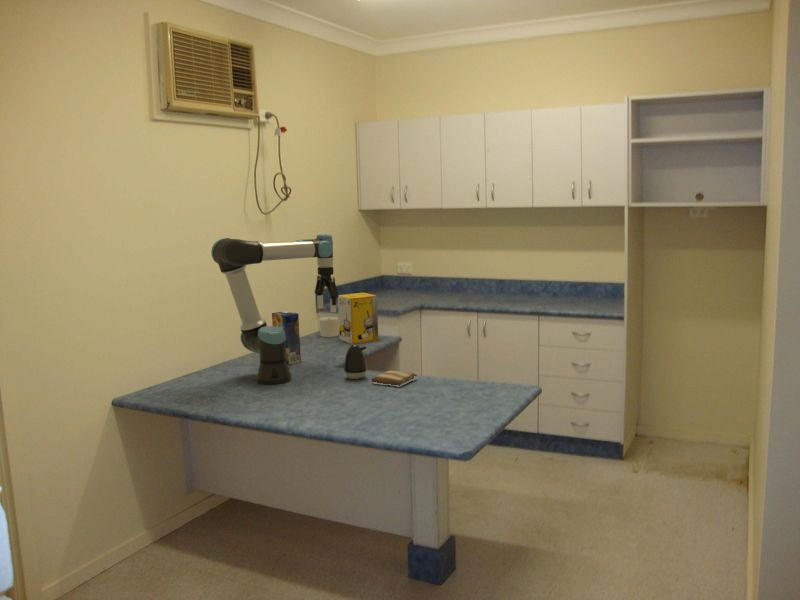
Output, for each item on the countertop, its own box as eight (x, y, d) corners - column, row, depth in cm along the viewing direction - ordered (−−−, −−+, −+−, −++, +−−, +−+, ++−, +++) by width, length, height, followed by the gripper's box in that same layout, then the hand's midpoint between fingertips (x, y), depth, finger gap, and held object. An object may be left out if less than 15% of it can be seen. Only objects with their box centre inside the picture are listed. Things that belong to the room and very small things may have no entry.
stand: (399, 387, 305) (399, 380, 305) (372, 383, 313) (371, 377, 312) (416, 379, 317) (416, 373, 317) (389, 376, 324) (389, 369, 324)
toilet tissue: (333, 333, 429) (333, 316, 427) (343, 336, 419) (342, 318, 417) (317, 335, 423) (316, 318, 422) (326, 338, 413) (325, 321, 412)
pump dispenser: (364, 381, 317) (363, 347, 315) (341, 380, 319) (340, 346, 317) (370, 375, 327) (368, 342, 325) (347, 374, 329) (346, 342, 327)
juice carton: (300, 361, 358) (298, 313, 354) (288, 364, 353) (285, 315, 349) (286, 358, 367) (284, 311, 363) (274, 360, 362) (271, 313, 358)
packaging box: (378, 340, 404) (377, 295, 400) (352, 344, 396) (350, 298, 392) (365, 335, 418) (363, 292, 414) (339, 339, 410) (337, 295, 406)
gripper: (344, 267, 341) (346, 312, 344) (320, 264, 362) (322, 306, 365) (330, 268, 337) (331, 314, 340) (307, 265, 358) (308, 307, 361)
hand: (326, 310), depth 353 cm, fingers open, 13 cm apart
